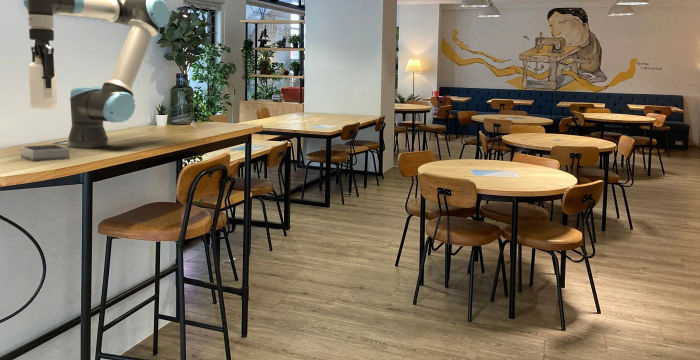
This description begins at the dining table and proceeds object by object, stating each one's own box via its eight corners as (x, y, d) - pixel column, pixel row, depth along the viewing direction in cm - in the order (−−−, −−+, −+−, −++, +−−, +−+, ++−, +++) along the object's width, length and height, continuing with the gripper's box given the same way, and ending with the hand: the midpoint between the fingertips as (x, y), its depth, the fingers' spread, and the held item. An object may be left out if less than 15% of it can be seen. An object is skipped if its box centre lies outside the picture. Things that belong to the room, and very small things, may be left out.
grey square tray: (56, 153, 230) (56, 144, 230) (69, 158, 222) (69, 148, 221) (21, 156, 222) (20, 146, 221) (33, 161, 214) (33, 151, 213)
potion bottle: (37, 107, 224) (35, 55, 220) (61, 108, 224) (59, 56, 220) (25, 108, 216) (23, 55, 212) (50, 110, 216) (47, 56, 212)
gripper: (19, 27, 218) (23, 95, 222) (40, 27, 205) (43, 99, 209) (42, 29, 223) (45, 95, 227) (63, 28, 210) (66, 99, 215)
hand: (44, 97), depth 218 cm, fingers open, 5 cm apart
